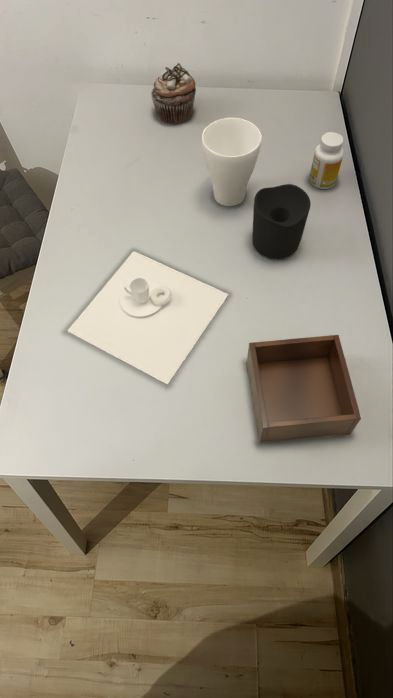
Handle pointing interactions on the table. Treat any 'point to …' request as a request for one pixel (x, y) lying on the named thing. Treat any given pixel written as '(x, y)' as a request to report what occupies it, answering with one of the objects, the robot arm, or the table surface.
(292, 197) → the pen holder
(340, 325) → the table surface
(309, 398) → the holder
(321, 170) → the supplement bottle
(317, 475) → the table surface
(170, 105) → the cupcake
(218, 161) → the cup
